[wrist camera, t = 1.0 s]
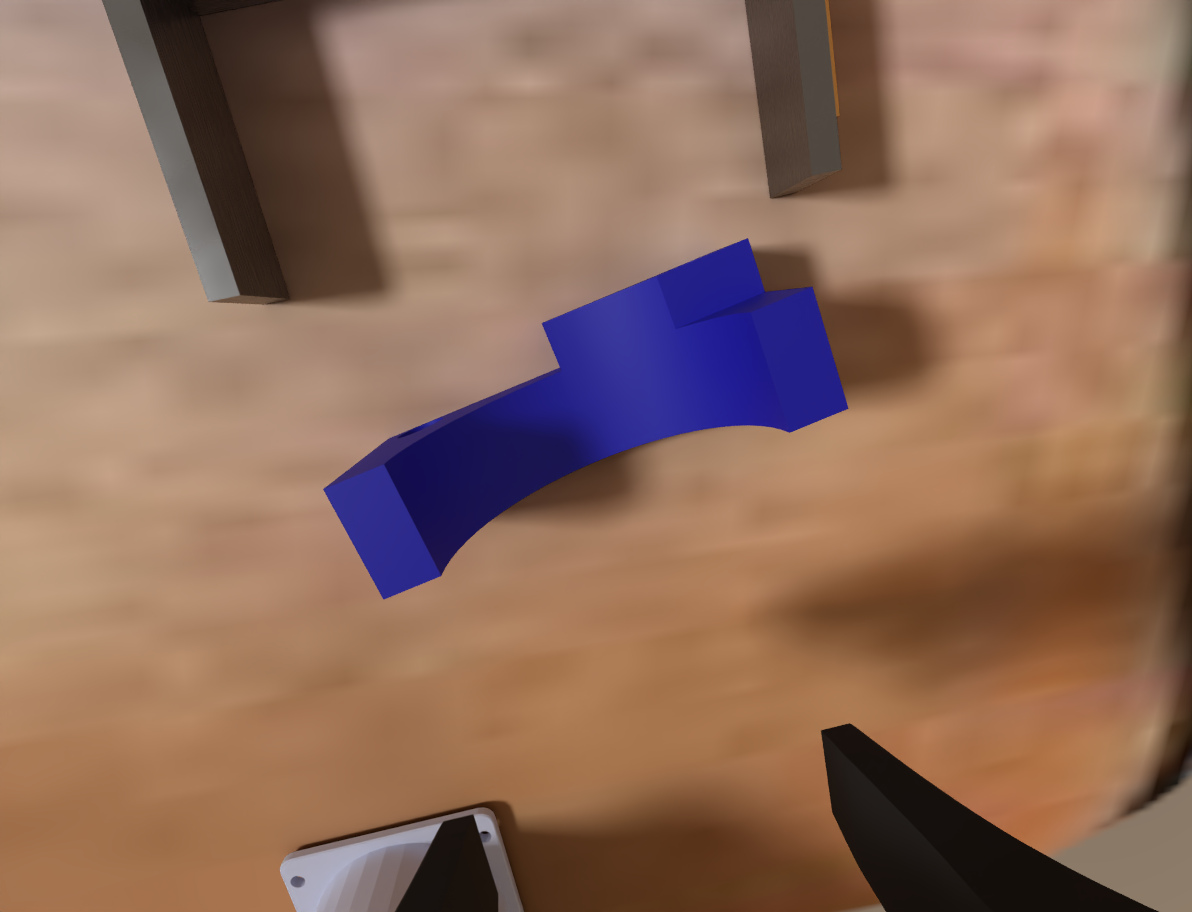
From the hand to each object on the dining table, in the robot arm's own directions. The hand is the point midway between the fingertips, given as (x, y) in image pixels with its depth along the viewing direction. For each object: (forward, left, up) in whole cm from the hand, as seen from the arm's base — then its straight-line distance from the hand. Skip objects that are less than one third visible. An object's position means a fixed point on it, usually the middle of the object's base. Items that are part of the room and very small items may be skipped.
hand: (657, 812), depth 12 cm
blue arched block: (+8, 0, -10) cm, 12 cm away
